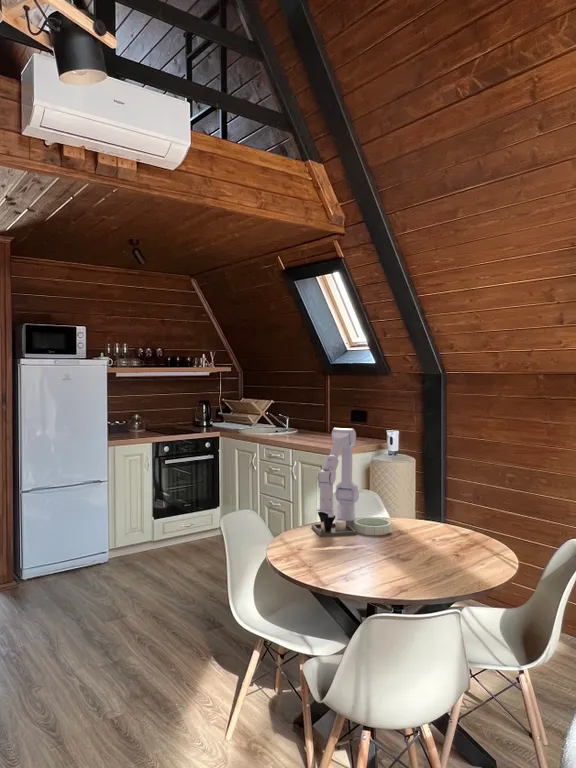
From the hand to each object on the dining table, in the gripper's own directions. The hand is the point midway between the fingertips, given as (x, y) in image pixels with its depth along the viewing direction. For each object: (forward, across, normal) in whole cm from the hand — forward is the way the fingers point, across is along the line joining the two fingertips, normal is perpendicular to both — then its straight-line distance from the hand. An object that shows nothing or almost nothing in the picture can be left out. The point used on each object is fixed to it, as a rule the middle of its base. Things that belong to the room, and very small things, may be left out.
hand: (326, 530), depth 246 cm
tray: (+2, 0, +3) cm, 4 cm away
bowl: (+2, +2, +20) cm, 20 cm away
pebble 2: (+1, 0, +6) cm, 6 cm away
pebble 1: (+1, 0, 0) cm, 1 cm away
